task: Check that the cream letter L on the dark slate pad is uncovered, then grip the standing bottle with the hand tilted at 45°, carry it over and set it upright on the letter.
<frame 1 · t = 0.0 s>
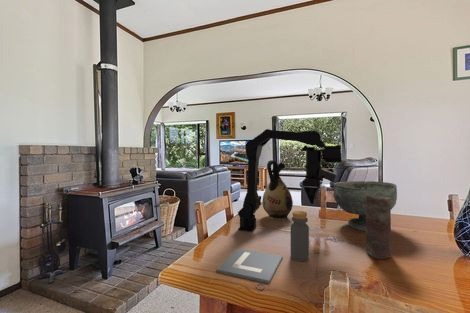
hand: (313, 201, 97), 15 cm above the table, tool pointing down, fingers open, 9 cm apart
candle: (378, 255, 81), on the table
bottle: (299, 257, 80), on the table
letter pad: (251, 264, 75), on the table
decorative bowl: (363, 226, 111), on the table
ceramic jug: (276, 218, 125), on the table
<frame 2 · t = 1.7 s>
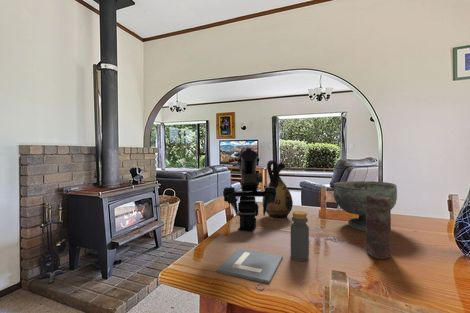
hand: (250, 215, 82), 13 cm above the table, tool tilted 45°, fingers open, 9 cm apart
nothing on the table moved.
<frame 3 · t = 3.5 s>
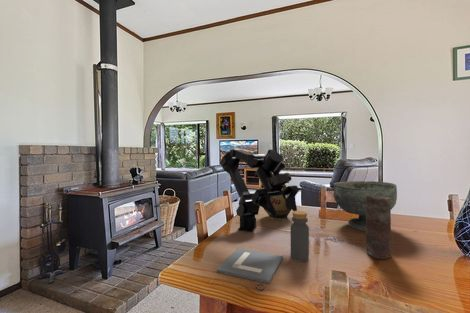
hand: (286, 213, 85), 13 cm above the table, tool tilted 45°, fingers open, 9 cm apart
nothing on the table moved.
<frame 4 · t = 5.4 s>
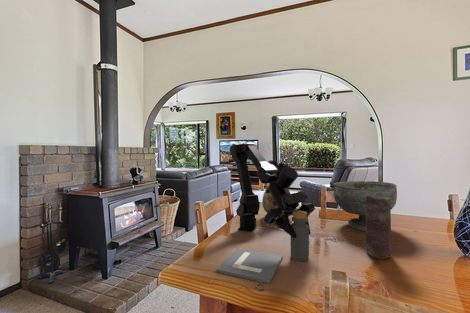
hand: (302, 235, 79), 8 cm above the table, tool tilted 45°, fingers closed on bottle, 6 cm apart
bottle: (299, 257, 80), on the table, touching gripper
everything else where it was.
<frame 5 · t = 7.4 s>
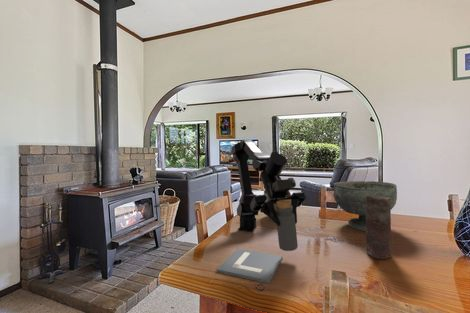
hand: (287, 224, 76), 12 cm above the table, tool tilted 45°, fingers closed on bottle, 6 cm apart
bottle: (288, 247, 78), point 4 cm above the table, touching gripper
everything else where it was.
when the fingers open (9 cm above the table, at t = 9.4 s): bottle stays where it is, resting on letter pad.
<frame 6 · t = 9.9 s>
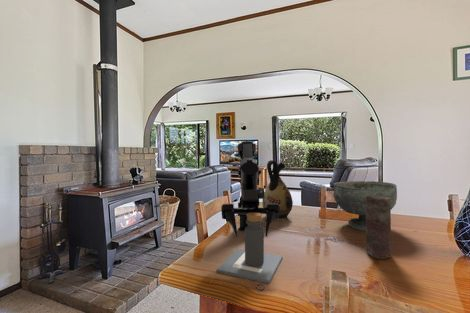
hand: (251, 236, 74), 10 cm above the table, tool tilted 45°, fingers open, 9 cm apart
bottle: (254, 262, 75), point 1 cm above the table, touching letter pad
everything else where it was.
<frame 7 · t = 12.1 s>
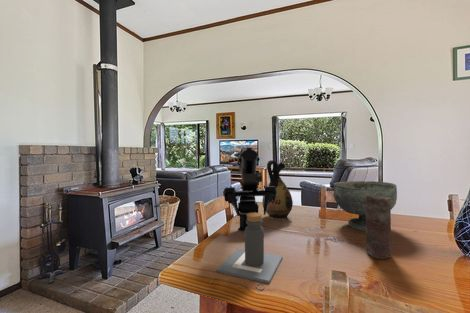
hand: (251, 214, 83), 13 cm above the table, tool tilted 45°, fingers open, 9 cm apart
nothing on the table moved.
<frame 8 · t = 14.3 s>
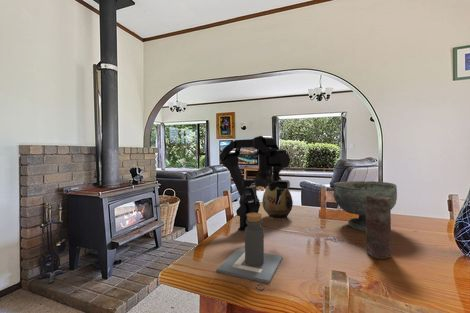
hand: (266, 204, 100), 13 cm above the table, tool pointing down, fingers open, 9 cm apart
nothing on the table moved.
at the end: bottle 1.0 cm from the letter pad (horizontally); bottle tilted 0°; the gripper is holding nothing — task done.
